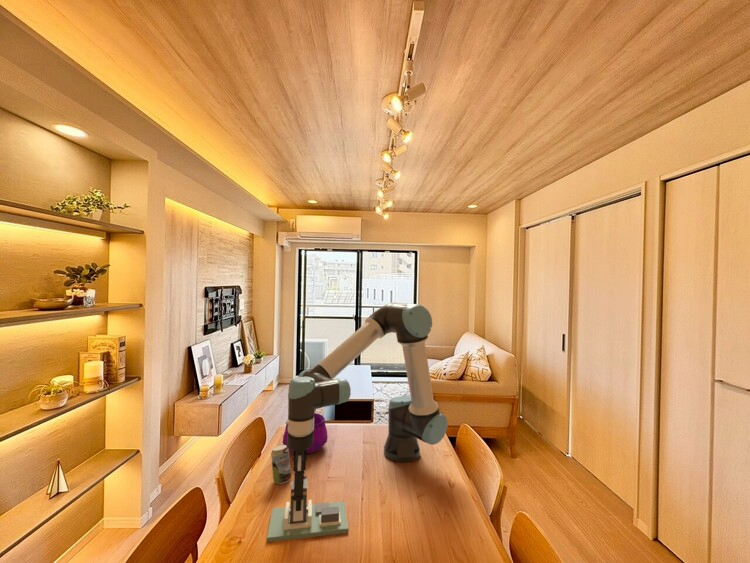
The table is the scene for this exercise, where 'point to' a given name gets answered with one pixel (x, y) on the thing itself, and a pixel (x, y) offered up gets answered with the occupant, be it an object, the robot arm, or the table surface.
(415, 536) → the table surface
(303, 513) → the plug
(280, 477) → the beverage can
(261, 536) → the table surface
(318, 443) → the decorative plant
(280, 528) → the board
